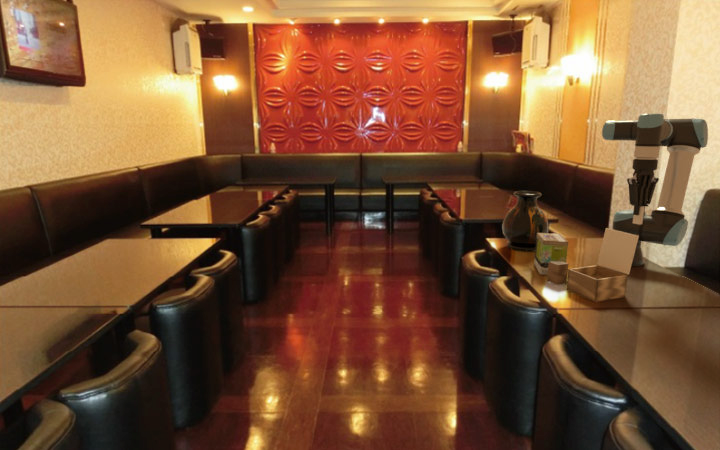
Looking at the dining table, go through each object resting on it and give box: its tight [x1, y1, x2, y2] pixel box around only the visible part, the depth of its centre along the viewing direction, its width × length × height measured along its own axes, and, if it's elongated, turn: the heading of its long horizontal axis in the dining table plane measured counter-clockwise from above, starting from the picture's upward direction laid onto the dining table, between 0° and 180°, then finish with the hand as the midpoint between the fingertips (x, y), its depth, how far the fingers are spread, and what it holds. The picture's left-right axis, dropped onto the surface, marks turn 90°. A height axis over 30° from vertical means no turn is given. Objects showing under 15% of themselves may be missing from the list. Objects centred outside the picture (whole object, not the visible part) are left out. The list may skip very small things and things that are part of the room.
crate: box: [565, 264, 629, 303], centre depth 165 cm, size 14×13×8 cm
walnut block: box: [546, 260, 569, 286], centre depth 177 cm, size 5×5×8 cm
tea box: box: [533, 232, 569, 276], centre depth 191 cm, size 15×10×15 cm
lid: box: [596, 227, 639, 275], centre depth 165 cm, size 14×13×1 cm
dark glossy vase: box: [501, 190, 549, 253], centre depth 224 cm, size 22×22×28 cm
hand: (637, 223), depth 166 cm, fingers closed
